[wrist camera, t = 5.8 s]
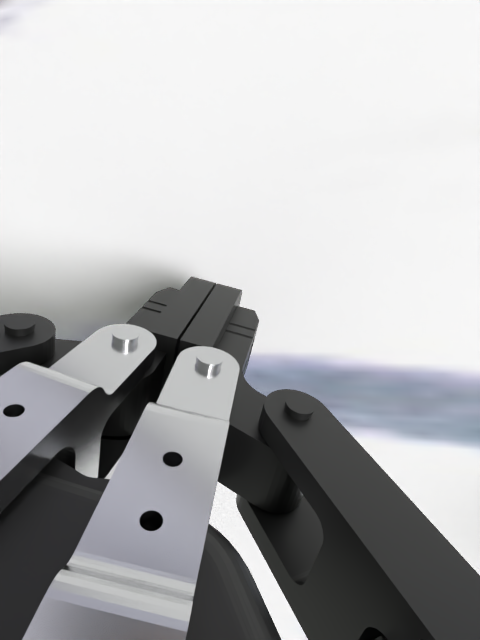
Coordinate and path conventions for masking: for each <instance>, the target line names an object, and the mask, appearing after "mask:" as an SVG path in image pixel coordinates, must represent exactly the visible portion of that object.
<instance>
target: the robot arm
mask: <svg viewBox="0 0 480 640" xmlns="http://www.w3.org/2000/svg"><path fill="white" fill-rule="evenodd" d="M241 295H242V290H240V289H236V288H232V287H228V286H225V285H221V284H217V285H216V283H213V282H210V281H206V280H202V279H199V278H195V277H190V279H189V280H188V281H187V282H186V283H185V285H184V286H183V287H182V288H181V289H180V290H177V289H173V288H167V289H164V290H161V291H159V292H156V293H155V294H154V295H153V296H152V297H151V298H150V299H149V301H148V302H146V304H145V305H144V306H143V307H142V308H141V309H140V310H139V311H138V312H137V313H136V314H135V315H134V316H133V317H132V318H131V319H130V320H129V321H128V322H127V323H126V324H112V325H108V326H104V327H102V328H100V329H98V330H97V331H96V332H94V333H93V334H92V335H90V336H89V337H88V338H87V339H85V340H84V341H71V340H60V339H55V326H54V324H53V323H52V322H51V321H50V320H48V319H46V318H44V317H41V316H38V315H34V314H24V313H17V314H7V315H1V316H0V640H281V638H280V636H279V633H278V631H277V629H276V627H275V625H274V623H273V620H272V618H271V616H270V614H269V612H268V609H267V607H266V605H265V603H264V601H263V599H262V596H261V594H260V592H259V590H258V588H257V585H256V583H255V581H254V579H253V577H252V575H251V573H250V571H249V569H248V567H247V566H246V564H245V562H244V561H243V559H242V558H241V556H240V555H239V553H238V552H237V551H236V549H235V548H234V547H233V546H232V544H231V543H230V542H229V541H228V540H227V539H226V538H225V537H224V536H223V535H222V534H221V533H220V532H219V531H218V530H216V529H215V528H214V527H213V526H211V525H210V524H209V519H210V514H211V510H212V505H213V500H214V495H215V490H216V486H217V481H218V482H219V483H221V484H223V485H224V486H226V487H227V488H229V489H230V490H232V491H233V492H235V493H236V494H237V498H236V503H237V508H238V510H239V512H240V514H241V516H242V518H243V520H244V521H245V523H246V525H247V527H248V529H249V531H250V533H251V534H252V536H253V538H254V540H255V542H256V544H257V546H258V547H259V549H260V551H261V553H262V555H263V557H264V559H265V560H266V562H267V564H268V566H269V568H270V570H271V571H272V573H273V575H274V577H275V579H276V581H277V583H278V584H279V586H280V588H281V590H282V592H283V594H284V596H285V597H286V599H287V601H288V603H289V605H290V607H291V609H292V610H293V612H294V614H295V616H296V618H297V620H298V622H299V623H300V625H301V627H302V629H303V631H304V633H305V634H306V636H307V638H308V640H480V575H479V574H478V573H477V572H476V571H475V570H474V569H473V568H472V567H471V566H470V565H469V563H468V562H467V561H466V560H465V559H464V558H463V557H462V556H461V555H460V554H459V552H458V551H457V550H456V549H455V548H454V547H453V546H452V545H451V544H450V543H449V542H448V540H447V539H446V538H445V537H444V536H443V535H442V534H441V533H440V532H439V531H438V529H437V528H436V527H435V526H434V525H433V524H432V523H431V522H430V521H429V520H428V519H427V517H426V516H425V515H424V514H423V513H422V512H421V511H420V510H419V509H418V508H417V506H416V505H415V504H414V503H413V502H412V501H411V500H410V499H409V498H408V497H407V496H406V494H405V493H404V492H403V491H402V490H401V489H400V488H399V487H398V486H397V485H396V483H395V482H394V481H393V480H392V479H391V478H390V477H389V476H388V475H387V474H386V473H385V471H384V470H383V469H382V468H381V467H380V466H379V465H378V464H377V463H376V462H375V460H374V459H373V458H372V457H371V456H370V455H369V454H368V453H367V452H366V451H365V450H364V448H363V447H362V446H361V445H360V444H359V443H358V442H357V441H356V440H355V439H354V437H353V436H352V435H351V434H350V433H349V432H348V431H347V430H346V429H345V428H344V427H343V425H342V424H341V423H340V422H339V421H338V420H337V419H336V418H335V417H334V416H333V414H332V413H331V412H330V411H329V410H328V409H327V408H326V407H325V406H324V405H323V404H322V403H321V402H320V401H319V400H317V399H316V398H314V397H312V396H310V395H308V394H306V393H303V392H300V391H296V390H290V389H283V390H277V391H274V392H272V393H270V394H269V395H268V396H267V397H266V396H264V395H263V394H261V393H259V392H257V391H256V390H255V389H253V388H252V387H251V386H250V385H249V384H248V383H247V382H246V380H245V378H244V374H245V371H246V368H247V365H248V361H249V358H250V354H251V350H252V346H253V342H254V338H255V334H256V331H257V327H258V323H259V319H258V317H257V315H256V313H255V311H254V310H250V309H246V308H243V307H239V304H240V300H241Z"/></svg>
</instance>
